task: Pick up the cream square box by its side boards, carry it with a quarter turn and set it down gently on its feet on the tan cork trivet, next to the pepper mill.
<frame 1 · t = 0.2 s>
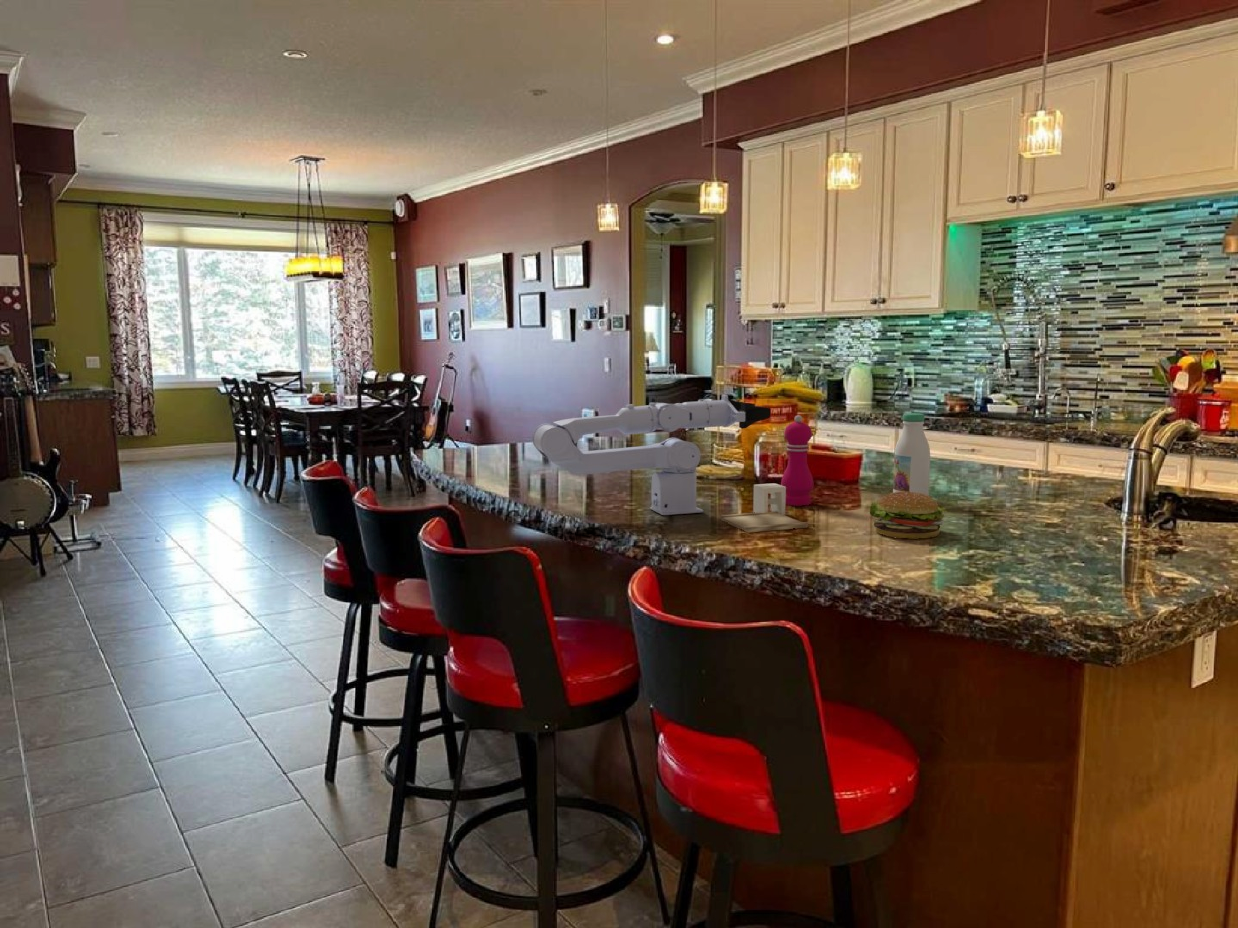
hand: (762, 410, 195), 21 cm above the countertop, tool horizontal, fingers open, 7 cm apart
cream square box: (769, 513, 189), on the countertop
pepper mill: (796, 504, 200), on the countertop
trivet: (762, 523, 179), on the countertop
food: (907, 534, 170), on the countertop
milk bottle: (910, 502, 201), on the countertop
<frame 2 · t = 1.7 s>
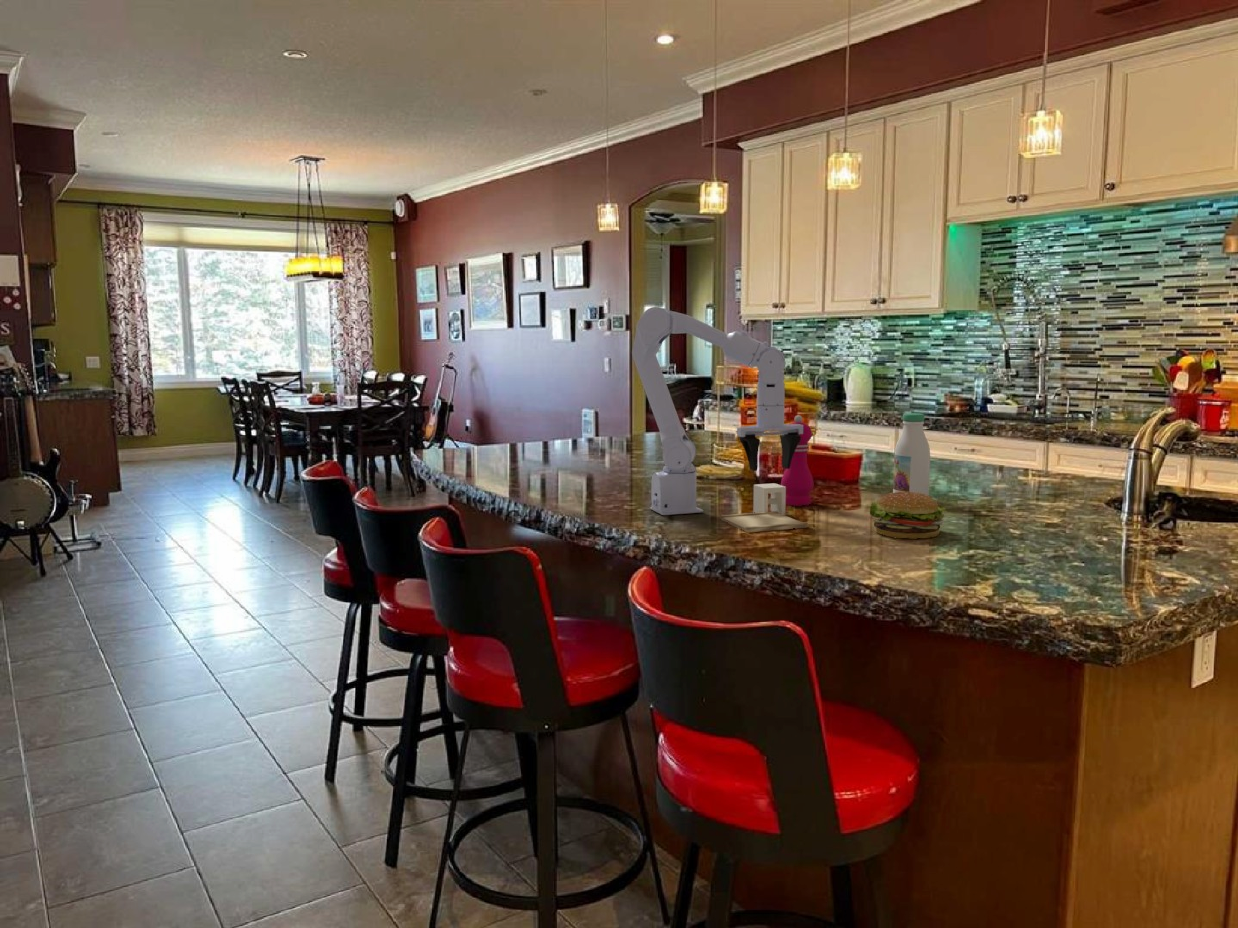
hand: (769, 469, 188), 10 cm above the countertop, tool pointing down, fingers open, 7 cm apart
nothing on the countertop moved.
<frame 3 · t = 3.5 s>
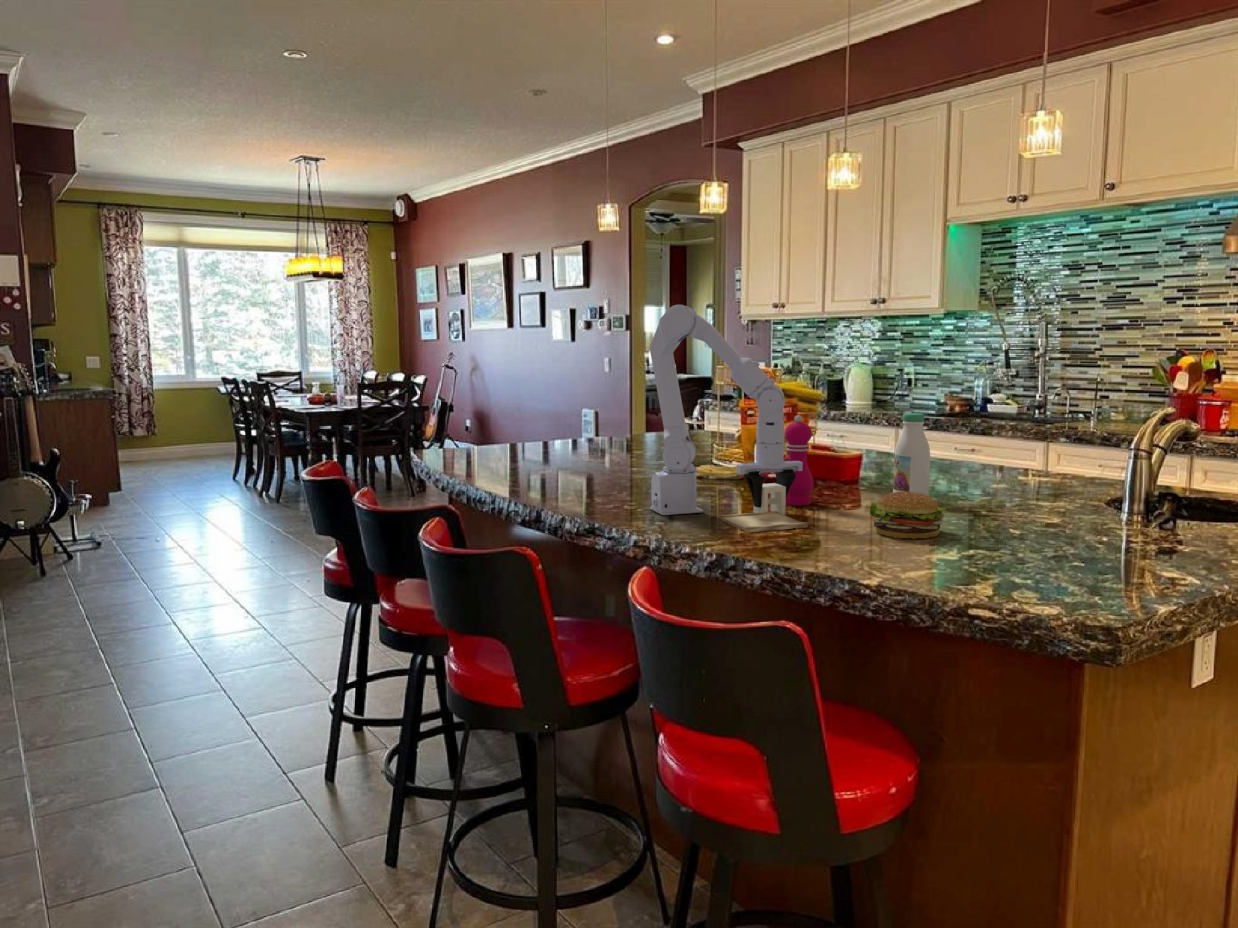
hand: (769, 505, 189), 2 cm above the countertop, tool pointing down, fingers closed on cream square box, 5 cm apart
cream square box: (769, 513, 189), on the countertop, touching gripper
everything else where it was.
when the fingers open (3 cm above the countertop, at t = 7.4 s): cream square box stays where it is, resting on trivet.
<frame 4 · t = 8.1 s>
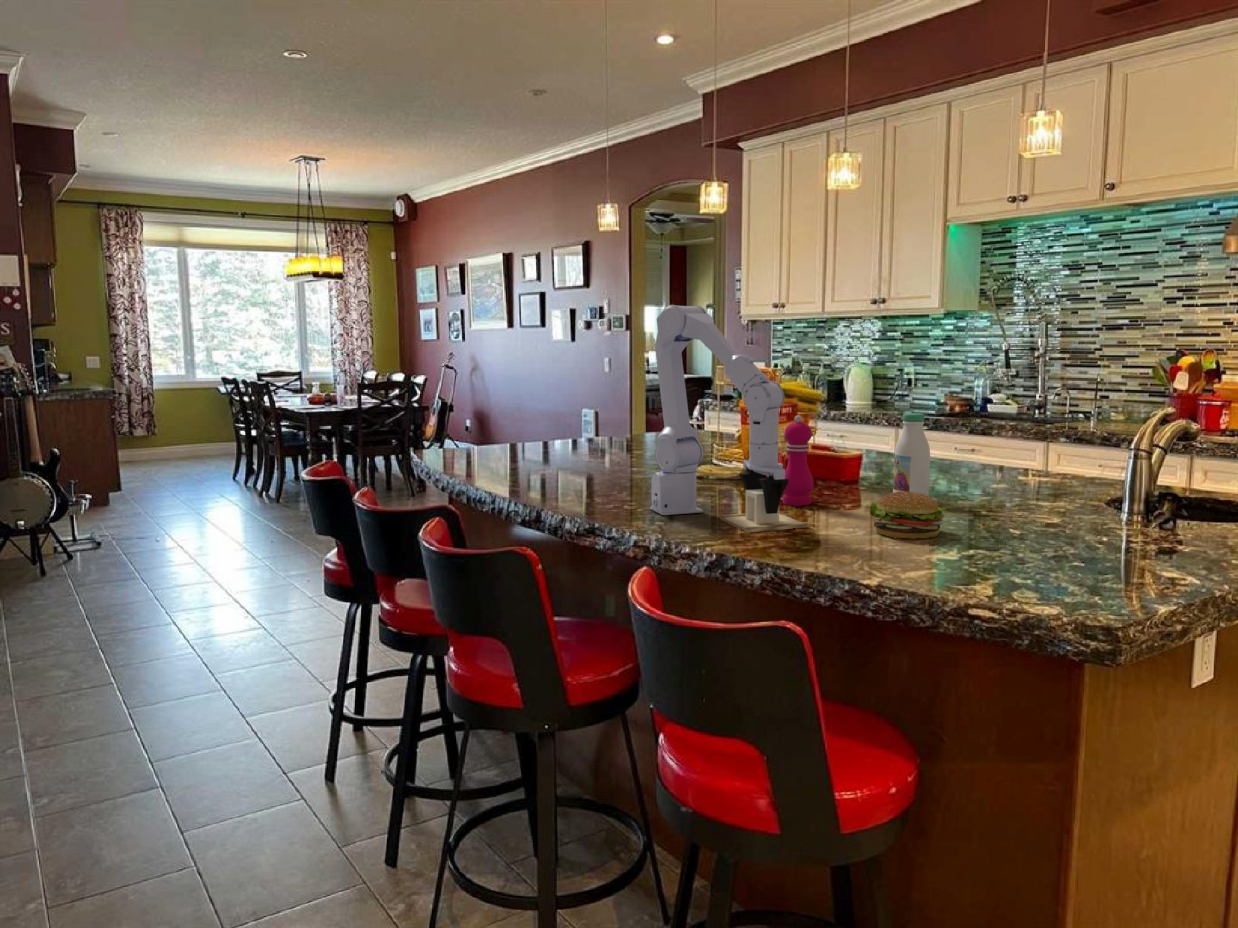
hand: (763, 509, 179), 3 cm above the countertop, tool pointing down, fingers open, 7 cm apart
cream square box: (762, 520, 179), point 1 cm above the countertop, touching trivet
everything else where it was.
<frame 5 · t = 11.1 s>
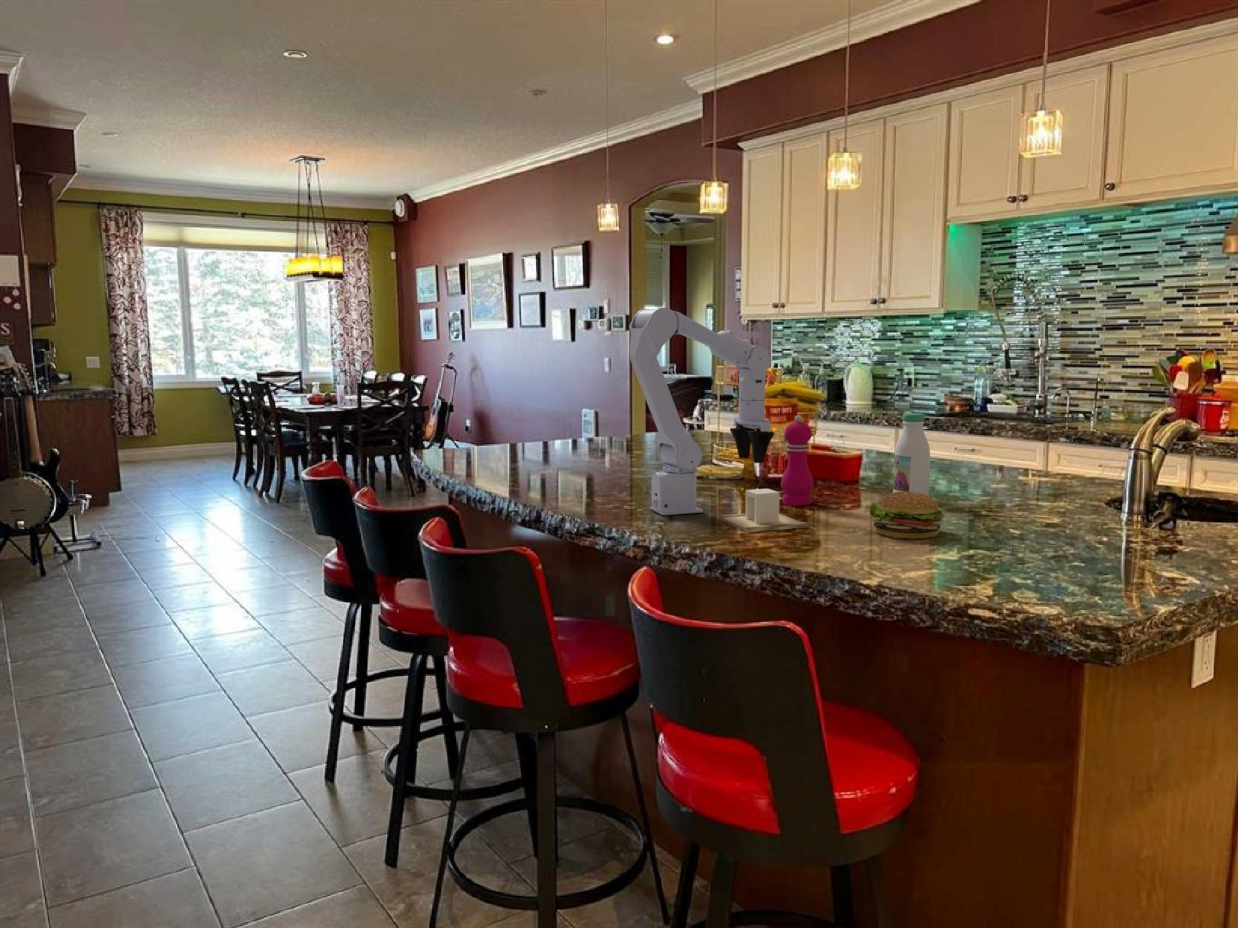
hand: (751, 460, 199), 10 cm above the countertop, tool pointing down, fingers open, 7 cm apart
nothing on the countertop moved.
at the end: cream square box inside the target area on the trivet (0.2 cm from its centre), point 0.6 cm above the trivet's base; cream square box tilted 0°; the gripper is holding nothing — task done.
